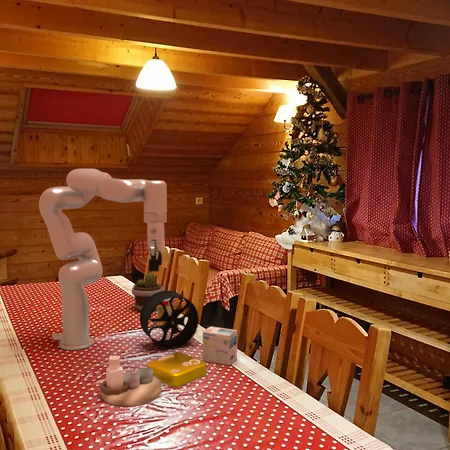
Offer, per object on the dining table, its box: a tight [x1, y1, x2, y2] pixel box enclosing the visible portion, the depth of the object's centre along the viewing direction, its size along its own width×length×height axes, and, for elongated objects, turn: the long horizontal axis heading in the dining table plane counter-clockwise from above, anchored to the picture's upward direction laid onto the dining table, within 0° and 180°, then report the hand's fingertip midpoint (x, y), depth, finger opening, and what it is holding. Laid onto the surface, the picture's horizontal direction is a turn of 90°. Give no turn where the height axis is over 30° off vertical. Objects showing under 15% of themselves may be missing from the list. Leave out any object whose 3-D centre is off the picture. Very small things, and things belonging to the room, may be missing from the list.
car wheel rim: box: [139, 290, 200, 350], centre depth 188 cm, size 20×10×20 cm, turn 116°
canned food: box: [156, 298, 177, 326], centre depth 211 cm, size 8×8×12 cm
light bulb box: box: [202, 326, 238, 366], centre depth 174 cm, size 11×7×11 cm, turn 65°
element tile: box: [146, 351, 208, 388], centre depth 162 cm, size 15×15×5 cm
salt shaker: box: [105, 355, 124, 388], centre depth 147 cm, size 4×4×10 cm
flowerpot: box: [131, 270, 164, 312], centre depth 235 cm, size 14×15×20 cm
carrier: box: [99, 367, 163, 407], centre depth 149 cm, size 18×18×5 cm
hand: (155, 268), depth 168 cm, fingers open, 9 cm apart
